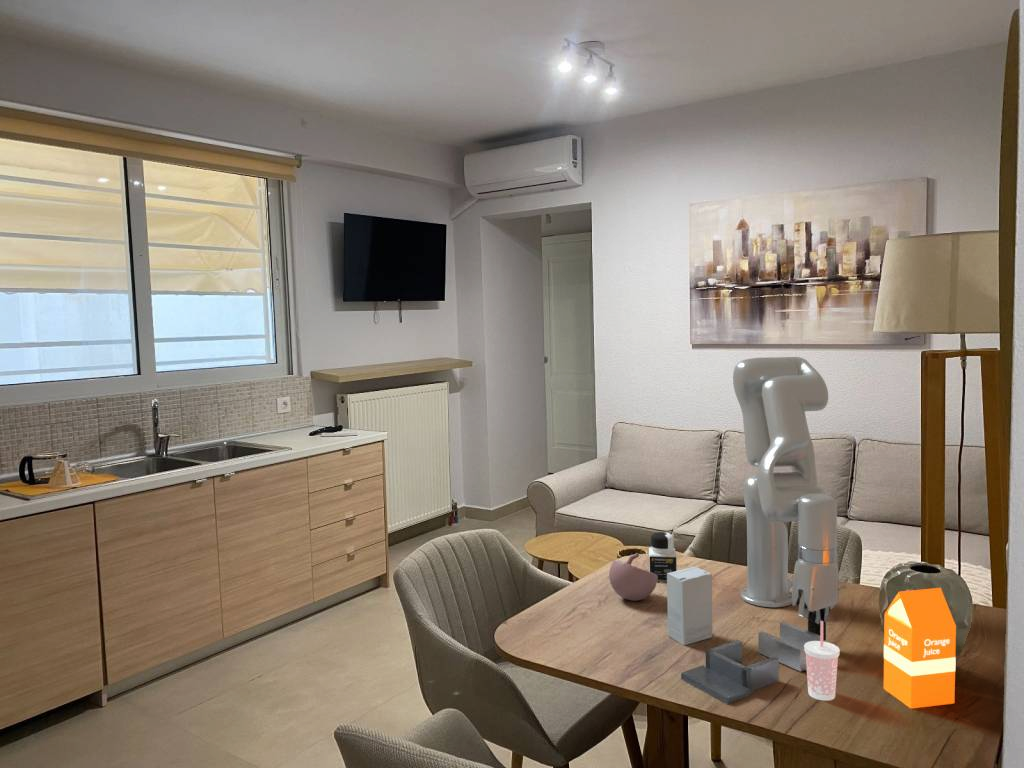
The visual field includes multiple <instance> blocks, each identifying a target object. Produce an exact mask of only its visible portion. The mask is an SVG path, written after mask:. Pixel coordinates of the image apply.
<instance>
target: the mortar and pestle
mask: <svg viewBox="0 0 1024 768" xmlns="http://www.w3.org/2000/svg"><path fill="white" fill-rule="evenodd" d="M639 556H640V554H639V552H638V553H637V552H635V554H630V555H629V557H628V559H627V560H626V562H623V561H620V560H616V559H614V560H613V561H612V563H611V565H610V568H609V572H608V575H609V576H608V577H609V578H608V579H609V583H610V585H611V587H612V589H613V591H614V592H615V593H616V594H617V595H619V596H620V597H621V598H623V599H625V600H628V601H632V602H633V601H635V602H637V601H641V600H644V599H646V598H648V597H649V596H650V595H651V594H652V593H653V592H654V590H655V589H656V586H657V584H658V581H657V580H658V576H657V575H656V574H654V573H652V572H650V571H649V570H647V569H646V570H645V569H642V568H640V567H637V566H636V565H632V563H633V562H634V560H635V559H638V558H639Z"/></svg>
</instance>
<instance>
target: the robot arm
mask: <svg viewBox="0 0 1024 768" xmlns="http://www.w3.org/2000/svg"><path fill="white" fill-rule="evenodd" d="M732 382H733V383H732V384H733V389H734V393H735V394H734V395H735V397H736V399H737V402H738V404H739V407H740V410H741V414H742V421H743V422H742V423H743V431H744V433H743V434H744V435H743V436H744V444H745V453H746V458H747V461H748V463H749V464H750V465H751V466H754V467H757V469H758V470H757V473H754V474H752V475H749V476H748V477H747V478H746V479H745V480H744V482H743V486H742V495H743V499H744V500H743V501H744V505H745V512H746V535H747V536H746V537H747V539H746V543H747V544H746V547H747V548H746V551H747V554H746V555H747V559H746V560H747V561H746V563H747V567H746V570H747V573H746V575H747V576H746V577H747V578H746V579H747V581H746V583H747V585H746V586H747V587H744V588H743V589H741V591H740V597H741V599H742V600H744V602H746V603H748V604H751V605H754V606H759V607H763V608H783V607H788V606H790V605H792V606H793V607H798V611H797V615H798V616H800V617H801V618H805V620H807V631H809V632H812V633H814V634H817V635H819V636H820V627H821V621H823V641H824V642H825V641H826V639H827V621H828V619H829V612H830V611H831V610H832V609H833V608H835V607H836V604H837V603H838V602H839V600H840V574H839V572H840V571H839V566H838V561H837V560H838V557H837V555H838V553H837V552H838V549H837V548H838V545H837V544H838V538H837V537H838V533H837V532H838V504H837V501H836V499H835V497H833V496H831V495H828V493H827V492H826V490H824V488H823V487H820V486H818V478H817V467H816V465H817V464H816V460H815V459H816V458H815V457H816V456H815V450H814V444H813V441H812V438H811V434H810V431H809V425H808V421H807V417H806V412H820V411H822V410H824V409H825V408H826V407H827V405H828V404H829V403H828V402H829V391H828V386H827V384H826V381H825V380H824V378H823V377H822V375H821V374H820V373H819V371H818V370H817V369H816V368H815V367H814V366H813V365H812V364H810V362H809V361H808V360H807V359H805V358H803V357H799V356H784V357H783V356H782V357H781V356H780V357H779V356H778V357H777V356H776V357H774V356H773V357H770V356H768V357H755V358H754V357H751V358H746V359H744V360H741V361H739V362H737V364H735V366H734V369H733V373H732ZM783 467H784V468H789V467H790V468H791V472H787V471H786V472H783V471H782V472H777V471H776V472H774V468H783ZM784 522H785V523H786V522H797V560H795V564H794V570H793V575H792V578H789V579H788V576H789V575H788V574H789V573H788V571H789V570H788V569H789V567H788V566H789V563H788V562H789V558H788V557H789V556H788V555H789V549H788V548H789V544H788V543H789V542H788V541H789V539H788V537H789V534H788V528H787V526H786V524H785V523H784Z"/></svg>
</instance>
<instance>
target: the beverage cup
mask: <svg viewBox="0 0 1024 768" xmlns="http://www.w3.org/2000/svg"><path fill="white" fill-rule="evenodd" d="M804 650H805V653H806V665H807V671H806V676H807V677H806V678H807V691H808V692H807V693H808V695H809V696H810V697H811V698H813V699H815V700H817V701H818V700H819V701H823V702H824V701H826V702H827V701H832V700H834V699H835V698H836V691H837V690H836V689H837V677H838V676H837V675H838V674H837V673H838V665H839V664H838V662H839V661H838V660H839V656H840V651H841V649H840V648H839V646H837V645H836V644H834V643H831V642H828V641H825V640H824V641H823V621H821V627H820V641H809V642H807V643H805V645H804Z"/></svg>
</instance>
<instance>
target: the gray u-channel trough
mask: <svg viewBox="0 0 1024 768" xmlns="http://www.w3.org/2000/svg"><path fill="white" fill-rule="evenodd" d="M809 641H820V636H819V635H817V634H814V633H812V632H809V631H808V629H804V628H801V627H799V626H796V625H794V624H791V623H788V622H786V621H781V622H780V623H779V637H777V636H775V635H772V634H770V633H768V632H765V631H759V632H758V653H759V654H761V655H763V656H765V657H768V658H771V657H773V656H774V657H776V658H779V664H783V665H784V666H788V667H790V668H791V669H794V670H796V671H798V672H803V671H806V672H807V665H806V653H805V650H804V645H805V643H807V642H809Z"/></svg>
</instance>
